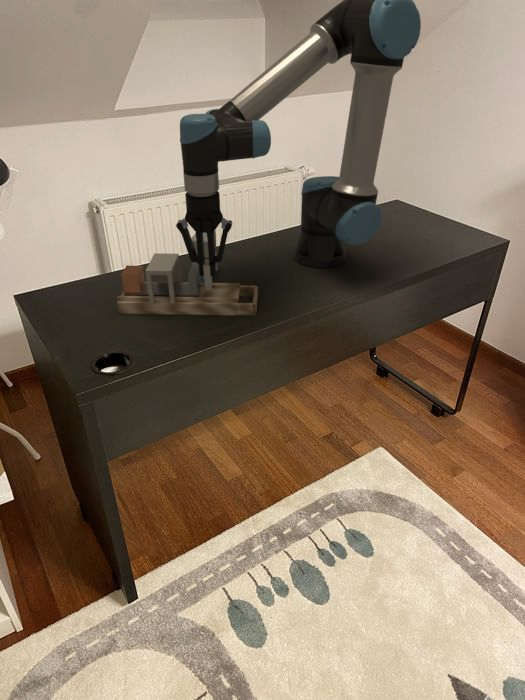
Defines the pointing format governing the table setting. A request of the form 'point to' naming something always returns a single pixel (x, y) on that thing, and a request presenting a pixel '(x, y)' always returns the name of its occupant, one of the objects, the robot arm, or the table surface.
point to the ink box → (204, 249)
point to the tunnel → (163, 273)
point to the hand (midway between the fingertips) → (208, 287)
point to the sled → (159, 284)
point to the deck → (197, 302)
